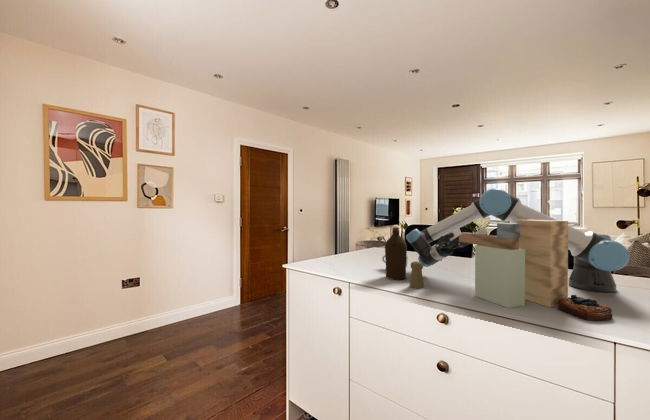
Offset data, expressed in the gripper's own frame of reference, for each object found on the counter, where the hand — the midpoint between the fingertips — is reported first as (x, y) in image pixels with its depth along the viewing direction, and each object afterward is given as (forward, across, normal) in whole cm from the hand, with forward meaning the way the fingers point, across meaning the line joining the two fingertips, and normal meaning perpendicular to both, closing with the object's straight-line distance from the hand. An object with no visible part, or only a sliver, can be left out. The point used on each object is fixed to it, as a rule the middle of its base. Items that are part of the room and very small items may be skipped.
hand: (473, 230), depth 117 cm
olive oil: (-39, +18, -7) cm, 43 cm away
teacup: (-54, +8, +1) cm, 54 cm away
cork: (-24, +18, -16) cm, 34 cm away
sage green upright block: (-2, 0, -28) cm, 28 cm away
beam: (+3, 0, -8) cm, 8 cm away
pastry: (+14, -15, -38) cm, 43 cm away
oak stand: (+2, -15, -30) cm, 34 cm away
